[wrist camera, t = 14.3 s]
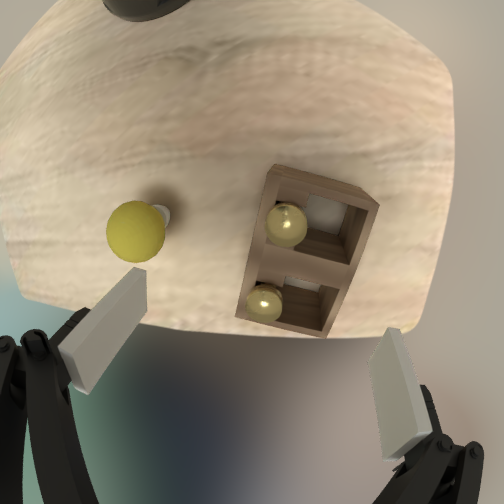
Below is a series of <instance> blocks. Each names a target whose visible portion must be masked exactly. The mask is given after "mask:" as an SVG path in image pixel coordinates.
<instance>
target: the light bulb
mask: <svg viewBox="0 0 504 504" xmlns="http://www.w3.org/2000/svg"><path fill="white" fill-rule="evenodd" d="M169 221H170V211H169V210H168V208H167V207H165V206H162V205H157V204H156V205H152V206H150V205H148V204H146V203H144V202H142V201H130V202H127V203H124V204H122V205H120V206H119V207H118V208H117V209H116V210H115V211H114V212H113V213H112V215H111V217H110V218H109V220H108V224H107V229H106V235H107V241H108V244H109V246H110V248H111V250H112V251H113V252H114V253H115V254H116V255H117V256H118V257H119V258H121V259H123V260H124V261H127V262H132V263H139V262H145V261H147V260H149V259H151V258H152V257H154V256H155V255H156V254H157V253H158V252H159V250H160V249H161V248H162V246H163V243H164V239H165V227H167V225H168V224H169Z"/></svg>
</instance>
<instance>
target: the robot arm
mask: <svg viewBox="0 0 504 504" xmlns="http://www.w3.org/2000/svg"><path fill="white" fill-rule="evenodd" d="M102 1H103V3H104V5H105V7H106V8H107V9H108V10H109V11H110V12H111V13H112V14H114V15H116V16H118V17H120V18H122V19H124V20H127V21H134V22H139V21H147V20H152V19H155V18H158V17H161V16H164V15H166V14H168V13H170V12H172V11H174V10H176V9H178V8H179V7H181V6H182V5H184V4H185V3H186V2H188V1H189V0H102ZM146 312H147V285H146V270H143V269H139V268H136V267H134V268H132V269H131V270H130V271H129V272H128V273H127V274H126V275H125V276H124V277H123V278H122V279H121V280H120V281H119V282H118V283H117V284H116V285H115V286H114V287H113V288H112V289H111V290H110V291H109V292H108V293H107V294H106V295H105V296H104V297H103V298H102V299H101V300H100V301H99V302H98V303H97V305H96V306H95V307H94V308H93V309H92V310H90V309H88V308H86V307H84V308H82V309H80V310H78V311H77V312H75V313H74V314H73V315H72V316H71V317H70V319H69V320H68V321H66V323H65V324H64V325H63V326H62V327H61V328H60V329H59V330H58V331H57V332H56V333H55V334H54V335H53V336H52V337H51V338H50V339H49V340H48V338H47V335H46V334H45V333H44V331H42V330H39V329H33V330H29V331H27V332H26V333H24V334H23V336H22V337H21V340H20V343H21V345H22V347H21V346H17V345H16V343H15V341H14V339H13V338H12V337H10V336H1V337H0V504H23V492H22V478H23V454H24V442H25V433H26V425H27V418H28V425H29V433H30V441H31V447H32V454H33V459H34V465H35V469H36V474H37V478H38V483H39V487H40V491H41V495H42V498H43V502H44V504H99V502H98V500H97V497H96V495H95V492H94V489H93V486H92V484H91V480H90V477H89V474H88V471H87V468H86V464H85V461H84V458H83V454H82V451H81V446H80V442H79V439H78V435H77V430H76V425H75V421H74V417H73V410H72V405H71V399H70V393H69V388H68V384H69V383H70V382H71V381H72V383H73V385H74V388H76V389H77V390H79V391H81V392H83V393H85V394H87V395H89V393H90V392H91V390H92V388H93V387H94V385H95V384H96V382H97V381H98V380H99V378H100V377H101V375H102V374H103V372H104V371H105V369H106V368H107V367H108V365H109V364H110V362H111V361H112V359H113V358H114V356H115V355H116V354H117V352H118V351H119V349H120V348H121V347H122V345H123V344H124V342H125V341H126V339H127V338H128V337H129V335H130V334H131V333H132V331H133V330H134V328H135V327H136V326H137V324H138V323H139V322H140V320H141V319H142V317H143V316H144V315H145V313H146ZM368 367H369V373H370V378H371V383H372V388H373V394H374V400H375V406H376V412H377V419H378V426H379V433H380V441H381V448H382V458H383V462H384V461H397V460H398V459H400V458H401V457H402V456H404V457H405V461H404V462H403V463H401V464H400V465H399V466H397V467H396V468H394V469H393V470H392V471H393V472H394V471H396V470H397V469H398V470H397V471H396V473H395V474H394V475H393V477H392V478H391V480H390V481H389V483H388V484H387V485H386V487H385V488H384V489H383V491H382V492H381V493H380V495H379V496H378V497H377V498H376V500H375V501H374V502H373V503H372V504H477V502H478V497H479V491H480V484H481V477H482V470H483V460H484V450H483V448H482V446H481V445H480V444H479V443H478V442H475V441H472V442H470V443H468V444H467V445H466V446H465V447H464V446H459V445H455V444H454V443H453V441H452V439H451V438H450V437H449V436H448V435H446V434H443V433H442V430H441V426H440V423H439V419H438V416H437V413H436V410H435V406H434V403H433V400H432V397H431V393H430V392H429V390H428V389H427V387H426V386H425V385H419V382H418V379H417V376H416V373H415V370H414V367H413V364H412V361H411V358H410V355H409V353H408V350H407V347H406V345H405V342H404V339H403V337H402V334H401V331H400V329H397V328H391V327H388V328H387V330H386V332H385V333H384V335H383V337H382V339H381V340H380V342H379V344H378V346H377V347H376V349H375V350H374V352H373V354H372V355H371V357H370V359H369V360H368ZM454 480H455V481H454Z"/></svg>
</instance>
